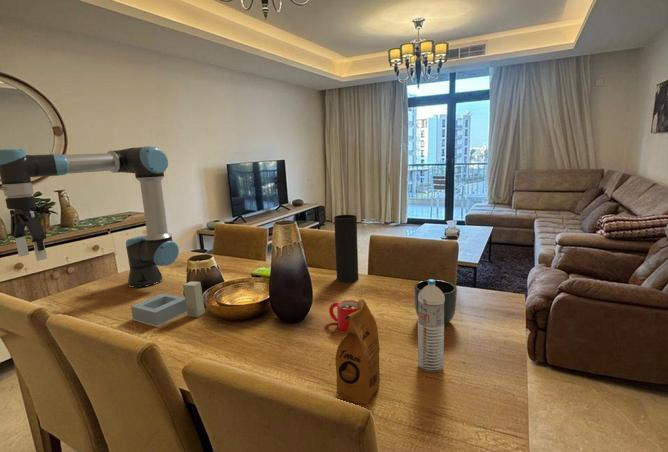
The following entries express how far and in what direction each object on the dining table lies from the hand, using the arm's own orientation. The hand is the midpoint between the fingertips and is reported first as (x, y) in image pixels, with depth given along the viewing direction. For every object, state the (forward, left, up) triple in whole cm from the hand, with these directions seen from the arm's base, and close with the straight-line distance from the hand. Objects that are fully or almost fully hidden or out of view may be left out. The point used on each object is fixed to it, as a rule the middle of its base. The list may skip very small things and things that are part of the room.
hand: (32, 257), depth 127 cm
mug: (-46, +96, -28) cm, 110 cm away
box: (-31, +40, -28) cm, 58 cm away
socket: (-25, +28, -28) cm, 47 cm away
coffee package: (-16, +115, -28) cm, 119 cm away
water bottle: (-33, +129, -28) cm, 136 cm away
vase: (-88, +77, -28) cm, 121 cm away
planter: (-60, +124, -28) cm, 141 cm away
